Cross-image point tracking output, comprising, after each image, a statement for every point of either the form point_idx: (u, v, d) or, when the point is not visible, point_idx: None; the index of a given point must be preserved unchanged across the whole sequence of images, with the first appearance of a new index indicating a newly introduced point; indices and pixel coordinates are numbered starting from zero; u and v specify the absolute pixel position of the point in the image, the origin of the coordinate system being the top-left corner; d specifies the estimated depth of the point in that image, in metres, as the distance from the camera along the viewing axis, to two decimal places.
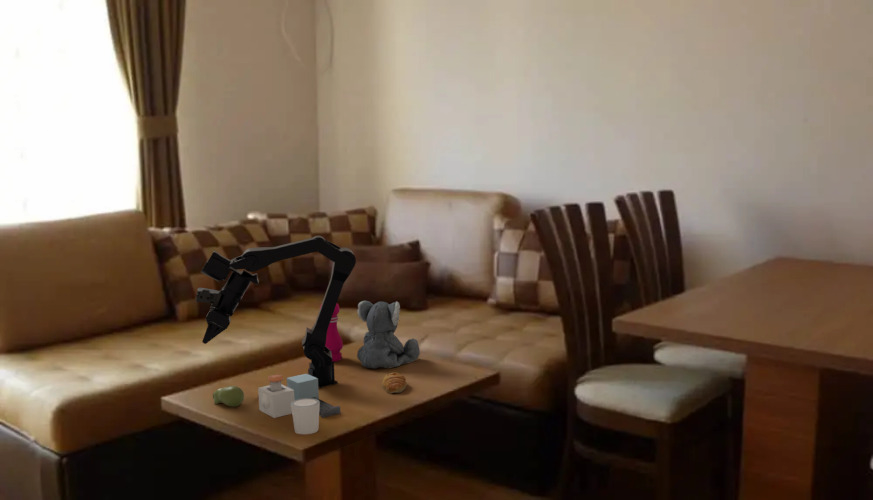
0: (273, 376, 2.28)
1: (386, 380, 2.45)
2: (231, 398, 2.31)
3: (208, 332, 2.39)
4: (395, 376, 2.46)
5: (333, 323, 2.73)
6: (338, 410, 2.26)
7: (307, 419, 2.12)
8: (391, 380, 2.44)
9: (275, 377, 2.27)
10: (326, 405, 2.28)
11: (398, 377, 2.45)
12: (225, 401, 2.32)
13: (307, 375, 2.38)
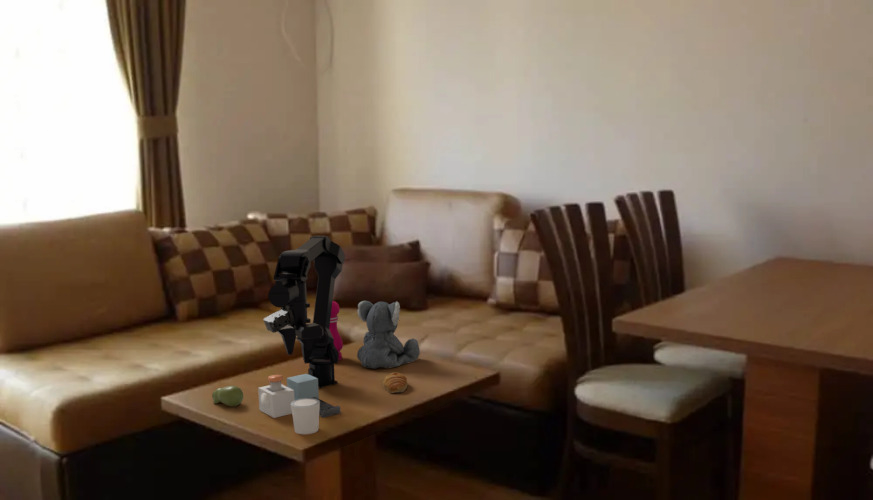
0: (273, 376, 2.28)
1: (387, 380, 2.45)
2: (231, 398, 2.31)
3: (306, 349, 2.29)
4: (396, 376, 2.46)
5: (333, 323, 2.73)
6: (338, 410, 2.26)
7: (307, 419, 2.12)
8: (392, 380, 2.44)
9: (275, 377, 2.27)
10: (326, 405, 2.28)
11: (399, 377, 2.45)
12: (224, 401, 2.32)
13: (307, 375, 2.38)
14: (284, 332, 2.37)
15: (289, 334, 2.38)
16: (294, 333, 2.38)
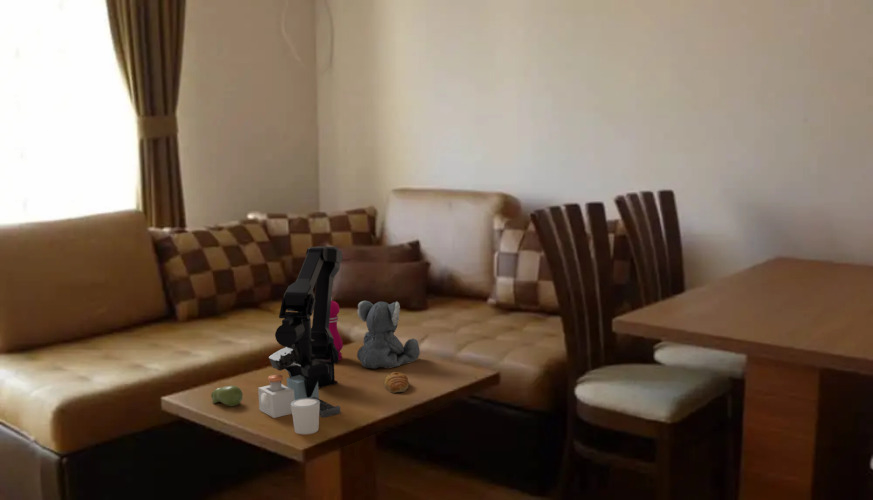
0: (273, 376, 2.28)
1: (389, 380, 2.45)
2: (230, 398, 2.32)
3: (309, 385, 2.32)
4: (397, 376, 2.46)
5: (333, 323, 2.73)
6: (338, 410, 2.26)
7: (307, 419, 2.12)
8: (394, 380, 2.44)
9: (275, 377, 2.27)
10: (326, 405, 2.28)
11: (400, 376, 2.46)
12: (224, 401, 2.33)
13: None
14: (291, 369, 2.37)
15: (296, 371, 2.38)
16: (301, 370, 2.39)
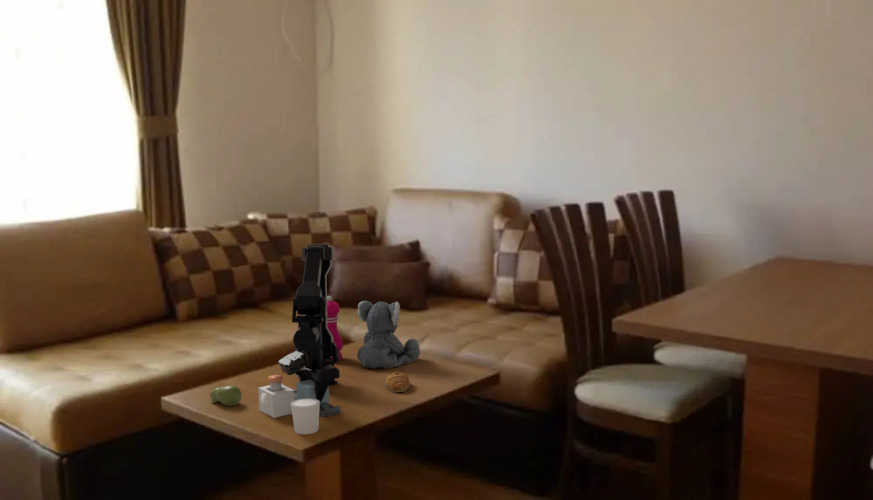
0: (273, 376, 2.28)
1: (390, 380, 2.45)
2: (229, 398, 2.32)
3: (319, 390, 2.28)
4: (398, 375, 2.46)
5: (333, 323, 2.73)
6: (338, 410, 2.26)
7: (307, 419, 2.12)
8: (395, 380, 2.44)
9: (275, 377, 2.27)
10: (326, 405, 2.28)
11: (402, 376, 2.46)
12: (223, 400, 2.33)
13: None
14: (301, 374, 2.33)
15: (306, 375, 2.34)
16: (311, 374, 2.35)
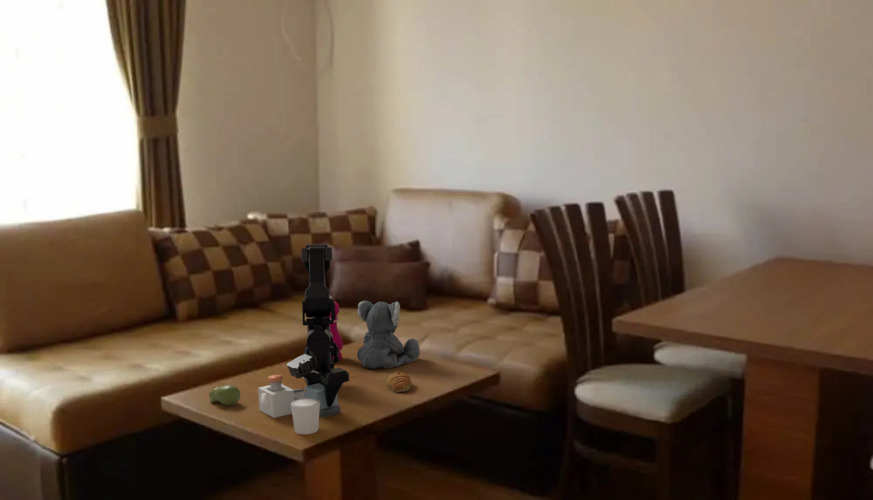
0: (273, 376, 2.28)
1: (391, 379, 2.45)
2: (228, 397, 2.32)
3: (330, 394, 2.24)
4: (400, 375, 2.47)
5: (333, 323, 2.73)
6: (338, 410, 2.26)
7: (307, 419, 2.12)
8: (397, 379, 2.44)
9: (275, 377, 2.27)
10: None
11: (403, 376, 2.46)
12: (221, 400, 2.33)
13: None
14: (308, 376, 2.30)
15: (313, 378, 2.31)
16: (318, 377, 2.32)
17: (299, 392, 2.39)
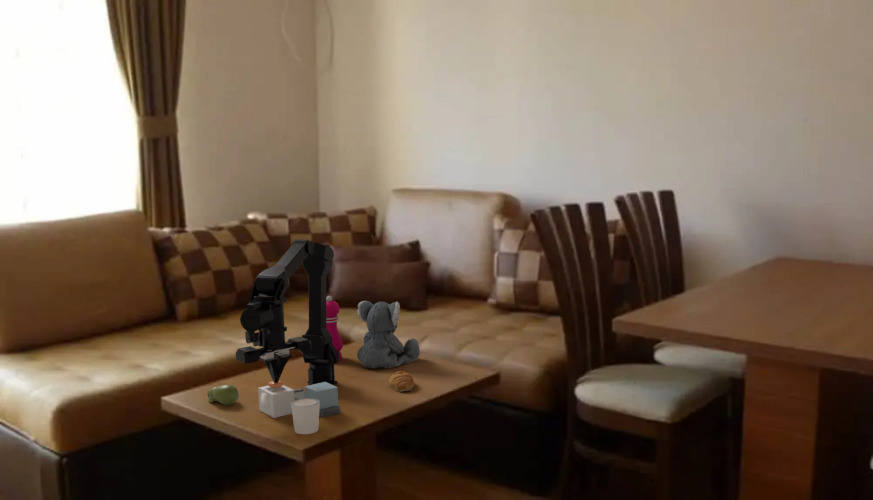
0: (273, 382, 2.28)
1: (394, 379, 2.46)
2: (226, 397, 2.33)
3: (269, 370, 2.27)
4: (403, 375, 2.47)
5: (333, 323, 2.73)
6: (338, 410, 2.26)
7: (307, 419, 2.12)
8: (400, 379, 2.45)
9: (275, 383, 2.27)
10: None
11: (406, 375, 2.46)
12: (220, 399, 2.33)
13: (326, 383, 2.30)
14: (274, 358, 2.28)
15: (277, 361, 2.27)
16: (279, 362, 2.26)
17: (299, 392, 2.39)
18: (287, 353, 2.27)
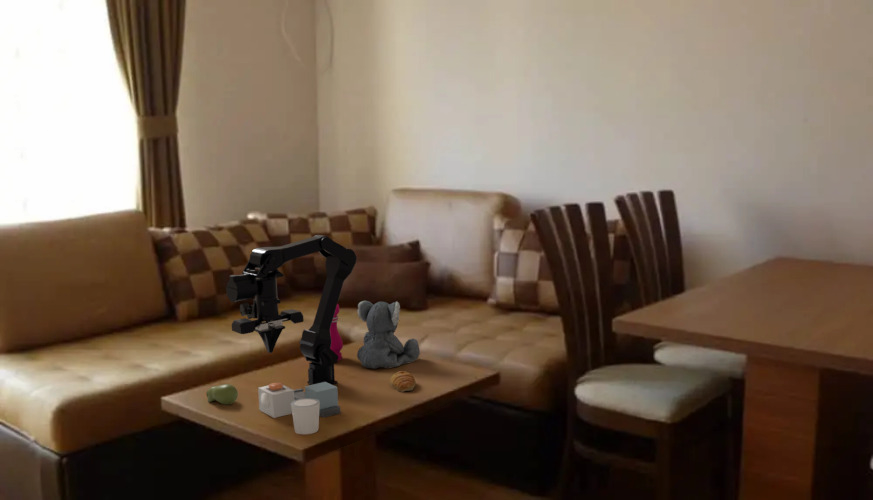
0: (273, 384, 2.28)
1: (396, 379, 2.46)
2: (225, 396, 2.33)
3: (263, 340, 2.38)
4: (404, 374, 2.47)
5: (333, 323, 2.73)
6: (338, 410, 2.26)
7: (307, 419, 2.12)
8: (401, 379, 2.45)
9: (275, 385, 2.27)
10: None
11: (407, 375, 2.47)
12: (219, 399, 2.34)
13: (326, 383, 2.30)
14: (268, 329, 2.39)
15: None
16: (273, 333, 2.37)
17: (299, 392, 2.39)
18: (280, 324, 2.38)
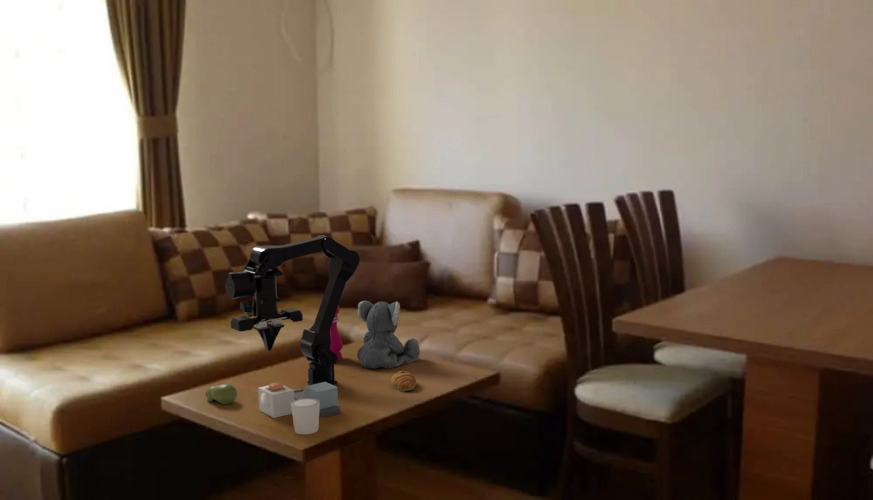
0: (273, 384, 2.28)
1: (397, 378, 2.46)
2: (225, 396, 2.33)
3: (262, 338, 2.39)
4: (405, 374, 2.47)
5: (333, 323, 2.73)
6: (338, 410, 2.26)
7: (307, 419, 2.12)
8: (402, 378, 2.45)
9: (275, 385, 2.27)
10: None
11: (408, 375, 2.47)
12: (218, 399, 2.34)
13: (326, 383, 2.30)
14: None
15: (270, 330, 2.40)
16: (272, 331, 2.38)
17: (299, 392, 2.39)
18: (279, 323, 2.40)
